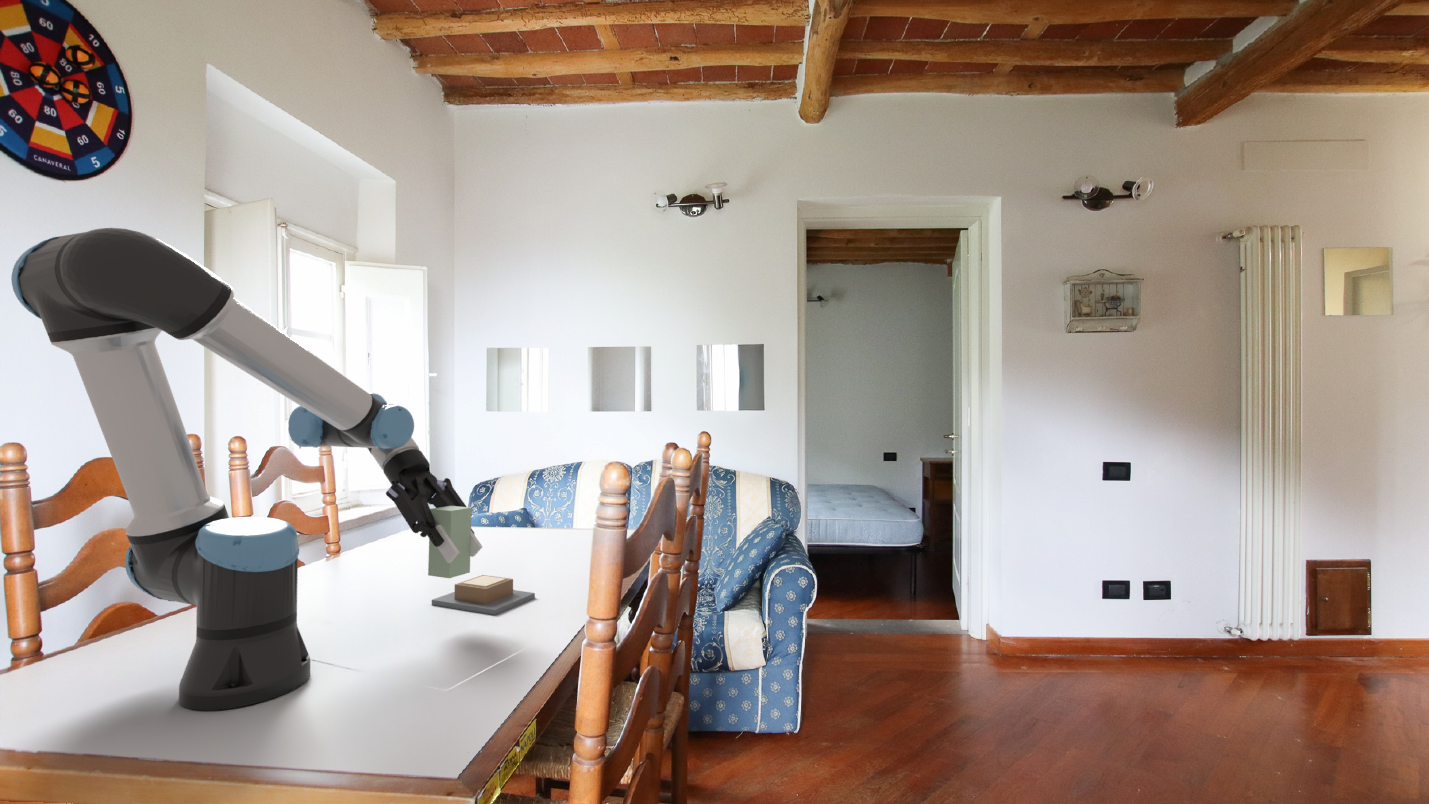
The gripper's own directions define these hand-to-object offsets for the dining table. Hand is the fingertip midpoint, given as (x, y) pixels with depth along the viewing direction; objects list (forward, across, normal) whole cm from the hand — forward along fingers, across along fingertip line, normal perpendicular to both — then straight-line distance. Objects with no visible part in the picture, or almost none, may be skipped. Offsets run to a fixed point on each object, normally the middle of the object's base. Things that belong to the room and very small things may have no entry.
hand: (465, 554), depth 115 cm
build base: (+4, -14, -14) cm, 20 cm away
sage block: (0, 0, -5) cm, 5 cm away
